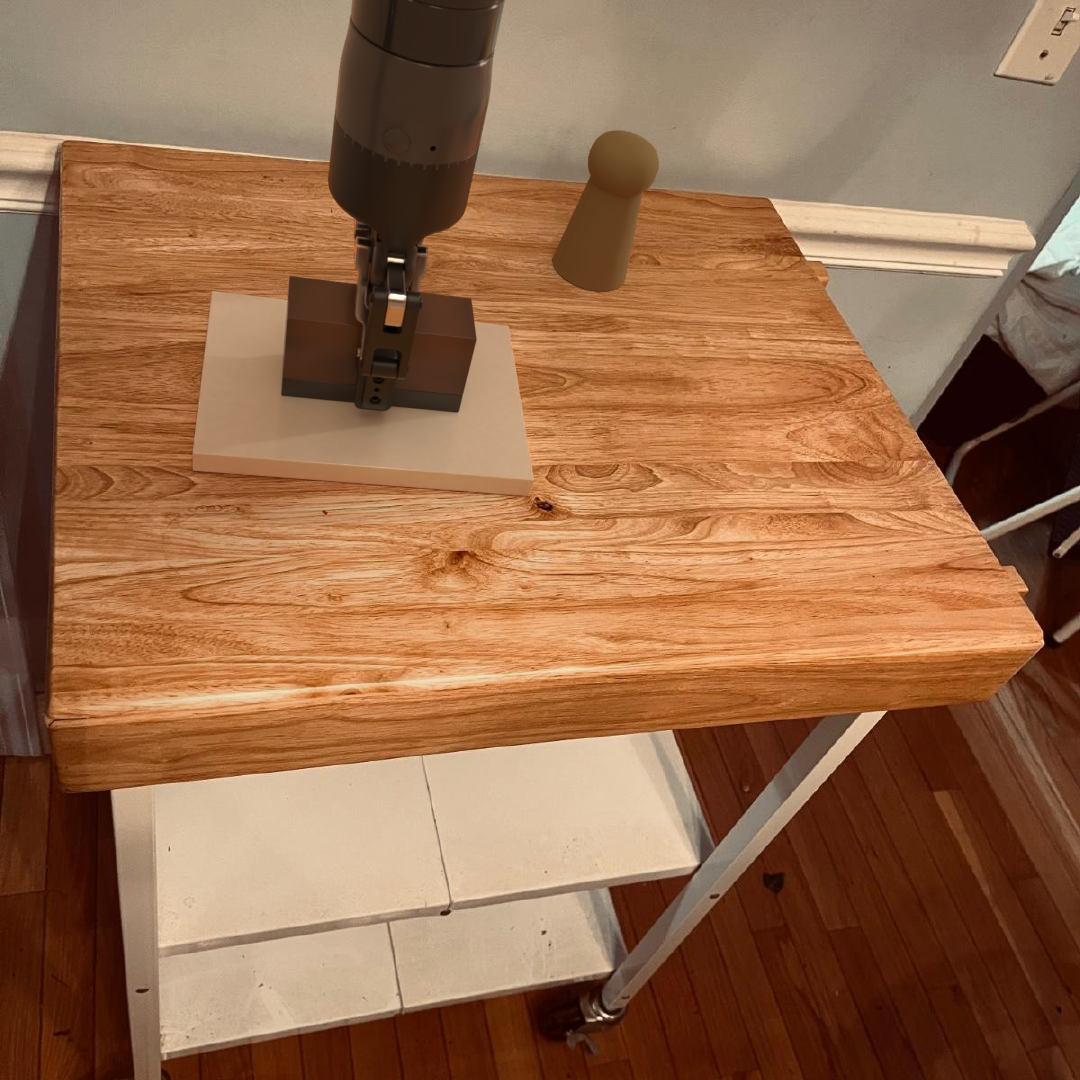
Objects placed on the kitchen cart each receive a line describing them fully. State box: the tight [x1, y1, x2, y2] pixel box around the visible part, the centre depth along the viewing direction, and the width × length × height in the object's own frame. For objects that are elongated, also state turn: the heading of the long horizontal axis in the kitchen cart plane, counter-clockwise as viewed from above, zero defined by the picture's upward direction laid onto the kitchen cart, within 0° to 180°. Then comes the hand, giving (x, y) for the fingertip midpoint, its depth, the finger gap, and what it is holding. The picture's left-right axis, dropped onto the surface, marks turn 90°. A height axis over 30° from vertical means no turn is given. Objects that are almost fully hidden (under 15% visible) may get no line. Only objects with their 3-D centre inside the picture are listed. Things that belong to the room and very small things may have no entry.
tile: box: [191, 290, 535, 497], centre depth 68 cm, size 20×15×2 cm
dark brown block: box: [281, 275, 477, 413], centre depth 65 cm, size 11×4×6 cm, turn 98°
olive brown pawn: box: [552, 129, 660, 293], centre depth 81 cm, size 6×6×11 cm
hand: (370, 365), depth 67 cm, fingers open, 6 cm apart
